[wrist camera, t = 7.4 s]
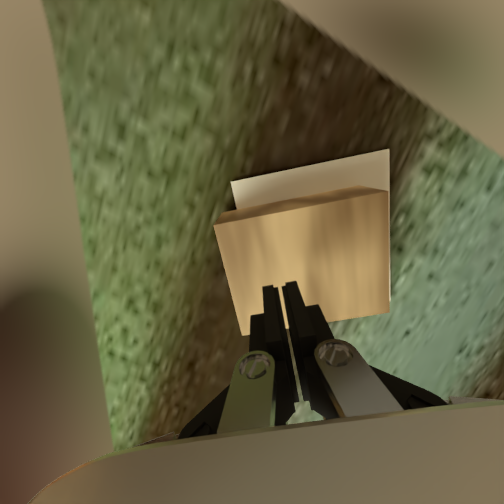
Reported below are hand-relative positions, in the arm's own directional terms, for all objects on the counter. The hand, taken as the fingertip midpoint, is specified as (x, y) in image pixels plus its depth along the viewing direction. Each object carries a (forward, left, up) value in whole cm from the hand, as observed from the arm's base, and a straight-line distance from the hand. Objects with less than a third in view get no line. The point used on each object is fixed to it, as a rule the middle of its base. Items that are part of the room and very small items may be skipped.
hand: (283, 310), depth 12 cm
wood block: (+3, 0, -6) cm, 6 cm away
